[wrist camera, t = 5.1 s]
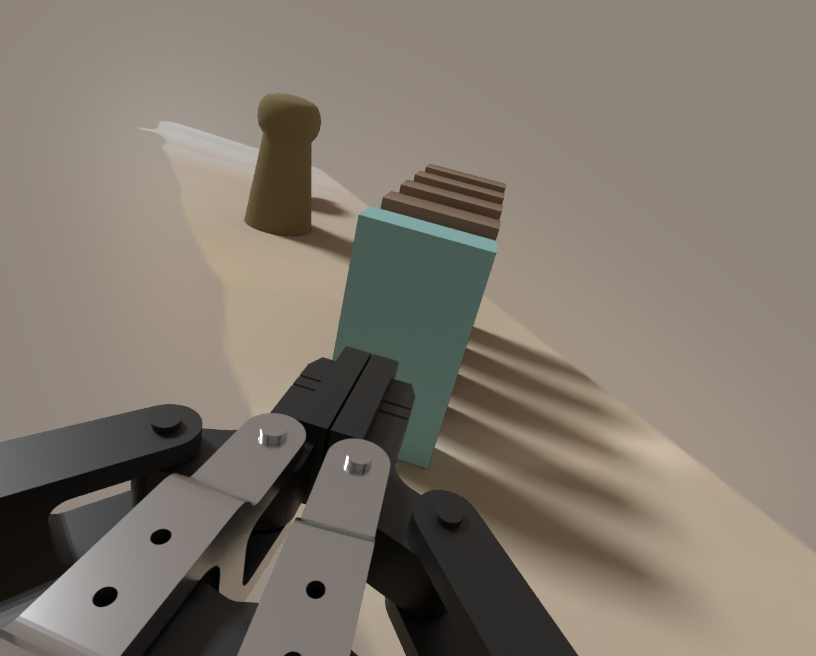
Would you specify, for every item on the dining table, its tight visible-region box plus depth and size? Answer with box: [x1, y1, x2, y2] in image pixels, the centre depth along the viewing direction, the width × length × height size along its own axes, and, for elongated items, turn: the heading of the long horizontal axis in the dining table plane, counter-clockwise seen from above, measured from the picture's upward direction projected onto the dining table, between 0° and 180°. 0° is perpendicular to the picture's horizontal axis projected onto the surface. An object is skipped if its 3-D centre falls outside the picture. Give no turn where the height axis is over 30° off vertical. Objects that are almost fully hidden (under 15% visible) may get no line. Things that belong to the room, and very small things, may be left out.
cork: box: [245, 93, 321, 235], centre depth 43 cm, size 6×6×11 cm
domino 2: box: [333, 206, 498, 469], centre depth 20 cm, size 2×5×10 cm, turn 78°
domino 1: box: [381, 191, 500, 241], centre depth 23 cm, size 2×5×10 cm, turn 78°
